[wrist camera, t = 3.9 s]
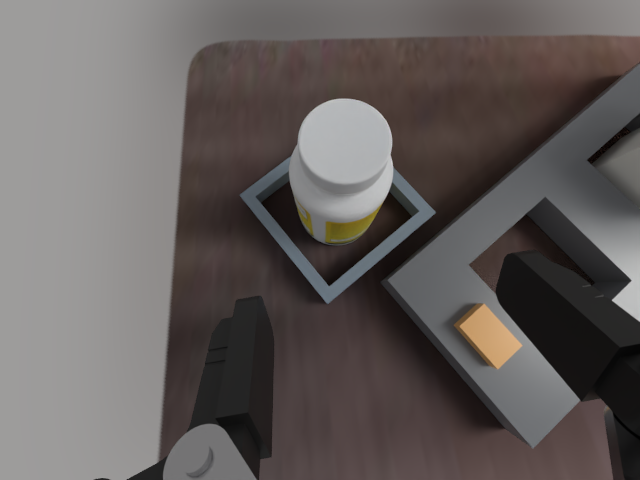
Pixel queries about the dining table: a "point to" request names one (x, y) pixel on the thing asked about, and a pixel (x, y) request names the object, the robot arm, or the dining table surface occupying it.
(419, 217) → the blue-grey square frame
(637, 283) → the socket strip
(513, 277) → the robot arm
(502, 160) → the dining table surface
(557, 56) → the dining table surface
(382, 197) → the supplement bottle
